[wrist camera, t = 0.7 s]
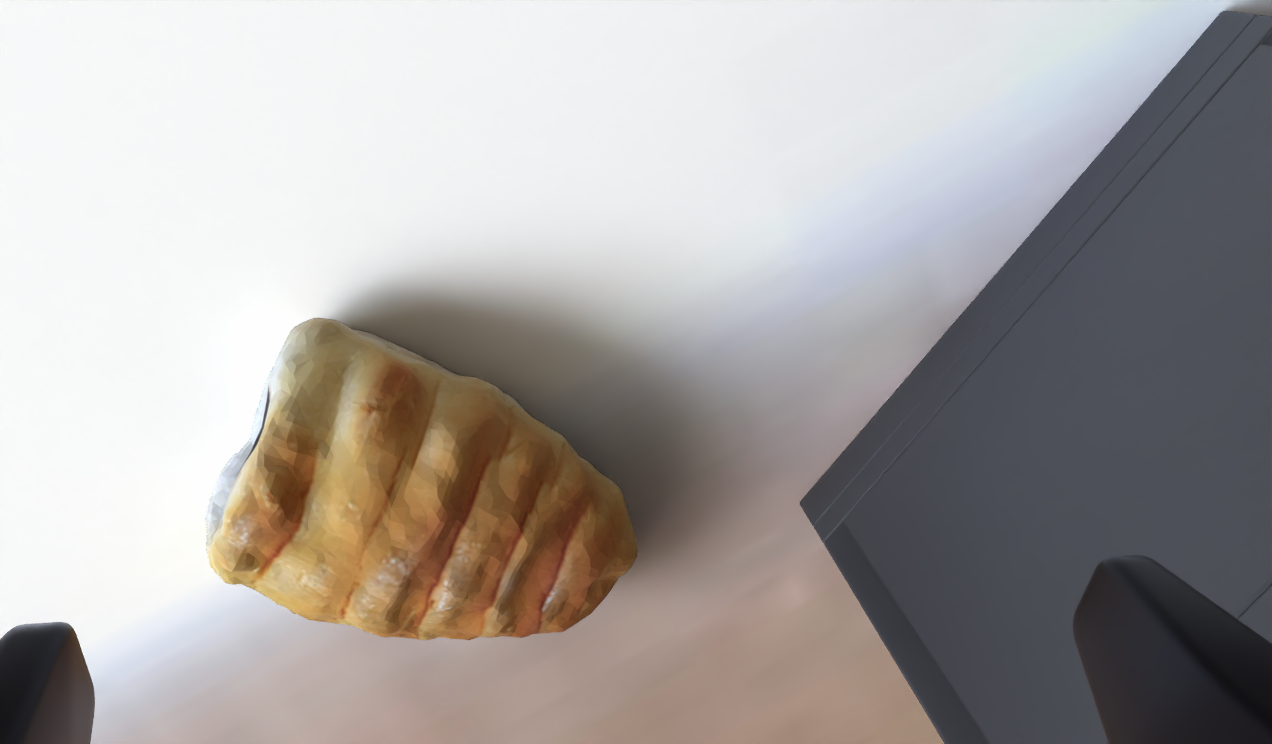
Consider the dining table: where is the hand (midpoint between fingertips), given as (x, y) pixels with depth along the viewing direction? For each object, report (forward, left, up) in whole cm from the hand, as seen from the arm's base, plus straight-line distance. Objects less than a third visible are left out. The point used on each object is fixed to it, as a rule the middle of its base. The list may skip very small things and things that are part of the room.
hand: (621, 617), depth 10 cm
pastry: (-7, -2, -16) cm, 18 cm away
